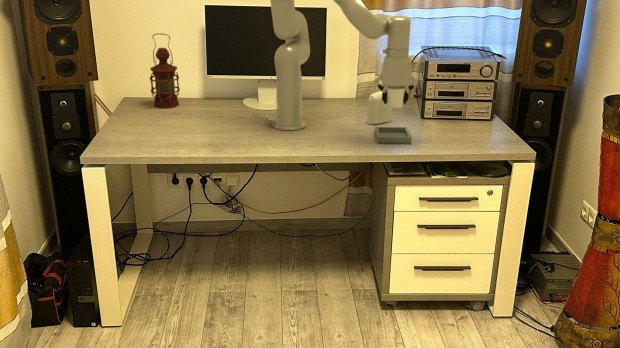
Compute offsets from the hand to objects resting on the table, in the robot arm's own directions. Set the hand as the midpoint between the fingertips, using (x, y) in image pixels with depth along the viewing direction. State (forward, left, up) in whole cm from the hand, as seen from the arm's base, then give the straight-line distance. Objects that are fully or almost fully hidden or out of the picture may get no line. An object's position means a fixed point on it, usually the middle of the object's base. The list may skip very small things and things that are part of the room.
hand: (394, 102), depth 227 cm
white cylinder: (0, 0, -1) cm, 1 cm away
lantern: (-91, +41, -14) cm, 101 cm away
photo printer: (-3, +20, -14) cm, 24 cm away
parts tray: (0, 0, -14) cm, 14 cm away
